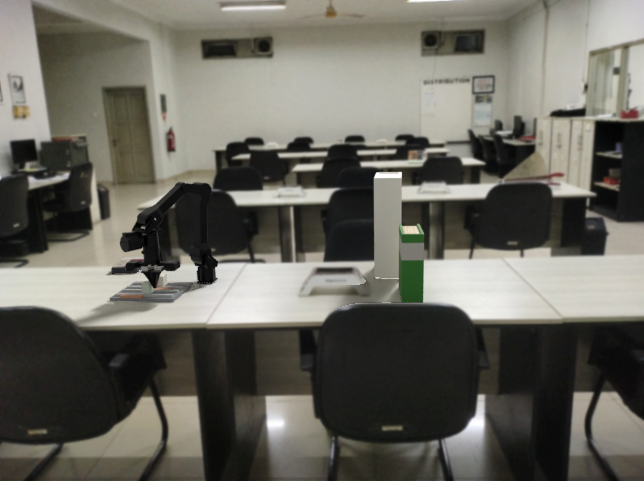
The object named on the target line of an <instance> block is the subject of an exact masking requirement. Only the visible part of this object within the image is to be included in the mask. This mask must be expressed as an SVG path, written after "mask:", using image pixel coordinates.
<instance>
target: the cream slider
mask: <svg viewBox="0 0 644 481" xmlns="http://www.w3.org/2000/svg"><path fill="white" fill-rule="evenodd" d="M168 282H169V281H168V274H167V273H161V274H160V277H159V280H158V284H157V286H166V285H167V284H168Z"/></svg>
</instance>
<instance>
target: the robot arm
mask: <svg viewBox="0 0 644 481" xmlns="http://www.w3.org/2000/svg"><path fill="white" fill-rule="evenodd" d="M212 193H213V187H212V186H211V185H210V184H209V183H207V182H200V181H199V182H198V181H194V182H193V183H189V182H184V181H177V182H176V183H175V185H174V186H173V187H172V188H171V189H169V191H168V192H166V194H164V196H162V197H161V198H160V199H159V200H158V201H157V202H156V203H155V204H153V205H152V206H150V207H147V208H145V209H143V210H142V211H140V212H139V213H138V214H137V217H136V221H135V223H134V225H133V227H132V229H131V231H128V232H122V233H121V234H122V236H121V237H120V241H119V246H120V248H121V251H123V253H129V252H133V251H138V250H141V251H140V253H141V255H143V256H142V257H144V262H142V261H141V260H131V261H129V262H127V263H126V265H125V270H126V271H134V270H135V268H141V270H140V273H141V274H143V275H144V276H145V278H146V279H147V281H149V282H150V283H151V285H152V287H153V288H157V284H158V280H159V277H160V274H162V273H163V272H164V271H166V272H176V271H177V270H178V269H180V268H181V262H180V260H178V259H169V260H167V259H168V252H167V251H163V250H162V247H160V242H159V241H160V240H159V234H162V233H164V230H163V229H162V228H160V226H159V225H160V224H161V223H162V221H163V219H164V216H165V215H166V213H168V211H169V210H171V208H173V206H174V205H175V204H177V202H179V200H181V198H183V196H185V195H186V194H190V196H189V197H190V199H191V201H192V204H193V207H194V211H193V212H194V242H193V245H190V246H189V247H188V248H189V254H188V257H190V260H191V261H192V262H193V265H194V266H195V267H197V270H196V280H197V281H196V284H214V283H215V282H216V281H217V280H218V277H217V274H216V268H218V266H219V261H218V260H217V259H216V258H215V257H214V256H213V252H212V248H211V246H210V243H209V242H208V241H209V240H208V238H209V237H208V228H209V227H208V206H209V203H210V202H211V199H212Z"/></svg>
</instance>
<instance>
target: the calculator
mask: <svg viewBox="0 0 644 481" xmlns="http://www.w3.org/2000/svg"><path fill="white" fill-rule="evenodd" d="M131 260H141V261H142V262H144V256H123V257H122V258H121V259H119V260H118V261H117V262H116V263H115V264H114V265H112V267H111V269H110V270H111V274H112V273H127V274H138V273H139V272H140V271H142V269H141V268H135V270H134V271H126V270H125V265H126V263H127V262H129V261H131ZM139 270H140V271H139ZM137 272H138V273H137Z"/></svg>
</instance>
